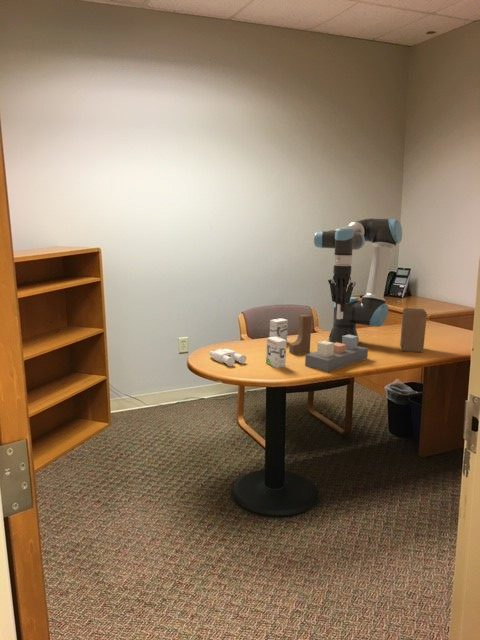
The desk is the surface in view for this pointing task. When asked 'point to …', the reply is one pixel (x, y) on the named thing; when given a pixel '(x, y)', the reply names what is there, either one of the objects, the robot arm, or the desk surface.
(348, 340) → the slate-blue plunger
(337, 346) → the salmon pink block
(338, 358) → the gray slotted tray
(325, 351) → the cream plunger
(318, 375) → the desk surface
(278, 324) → the ink box
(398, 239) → the robot arm
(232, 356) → the binoculars
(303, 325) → the wooden block
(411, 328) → the wooden block
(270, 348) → the ink box
